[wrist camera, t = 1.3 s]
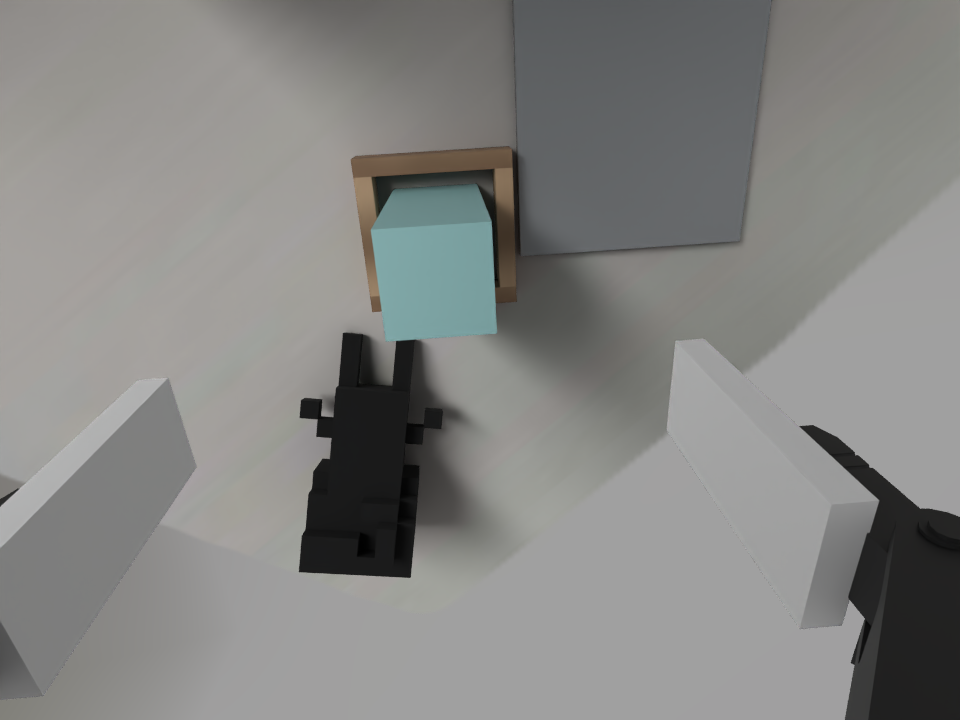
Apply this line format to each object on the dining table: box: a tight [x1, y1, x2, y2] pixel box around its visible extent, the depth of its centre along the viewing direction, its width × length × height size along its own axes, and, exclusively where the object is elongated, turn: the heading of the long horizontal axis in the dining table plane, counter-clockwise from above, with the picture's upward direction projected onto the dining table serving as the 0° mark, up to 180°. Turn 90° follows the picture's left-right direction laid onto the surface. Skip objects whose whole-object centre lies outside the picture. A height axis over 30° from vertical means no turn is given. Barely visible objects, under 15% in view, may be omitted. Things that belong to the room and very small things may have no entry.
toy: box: [299, 333, 443, 578], centre depth 38 cm, size 9×8×15 cm
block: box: [371, 184, 497, 342], centre depth 30 cm, size 5×5×12 cm
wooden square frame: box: [351, 146, 517, 312], centre depth 35 cm, size 9×9×2 cm
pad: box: [513, 0, 772, 256], centre depth 33 cm, size 14×14×1 cm
